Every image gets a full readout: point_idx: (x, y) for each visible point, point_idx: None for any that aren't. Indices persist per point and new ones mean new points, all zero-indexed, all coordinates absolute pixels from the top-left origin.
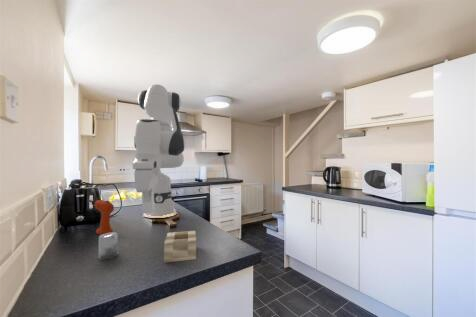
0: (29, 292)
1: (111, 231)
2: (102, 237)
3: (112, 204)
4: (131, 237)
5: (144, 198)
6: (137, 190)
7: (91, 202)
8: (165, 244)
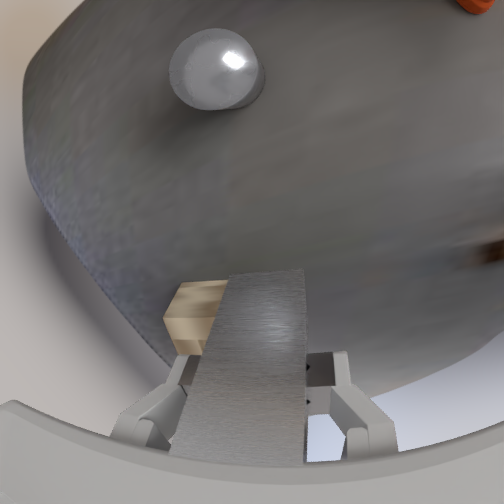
0: (61, 34)
1: (471, 9)
2: (182, 57)
3: None
4: (423, 99)
5: (171, 382)
6: (3, 410)
7: None
8: (165, 319)
